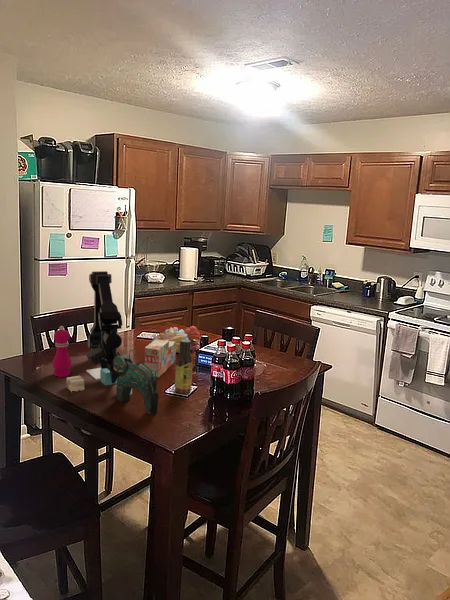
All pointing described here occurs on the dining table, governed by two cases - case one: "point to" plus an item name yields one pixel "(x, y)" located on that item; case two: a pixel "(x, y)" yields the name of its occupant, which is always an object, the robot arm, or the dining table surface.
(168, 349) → the stack of blocks
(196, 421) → the dining table surface
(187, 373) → the sauce bottle
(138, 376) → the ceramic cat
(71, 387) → the birch block
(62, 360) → the pepper mill
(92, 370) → the white mat
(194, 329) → the pastel sphere sculpture
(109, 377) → the teal block
